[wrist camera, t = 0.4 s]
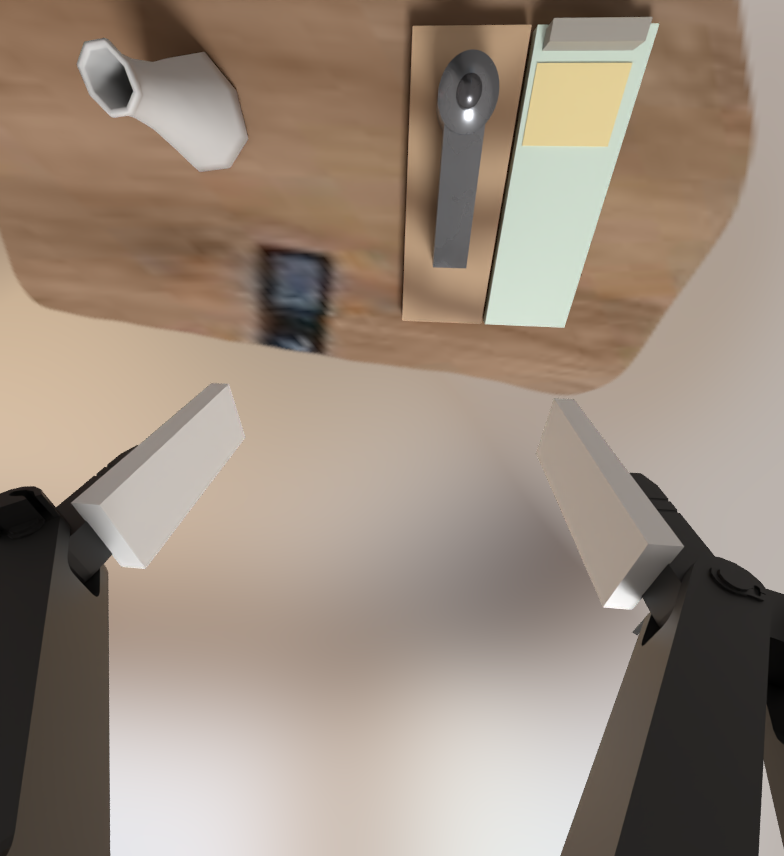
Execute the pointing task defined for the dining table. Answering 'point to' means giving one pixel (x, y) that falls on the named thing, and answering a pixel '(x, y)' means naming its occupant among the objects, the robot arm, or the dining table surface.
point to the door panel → (563, 161)
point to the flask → (170, 100)
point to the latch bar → (461, 150)
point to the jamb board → (424, 284)
